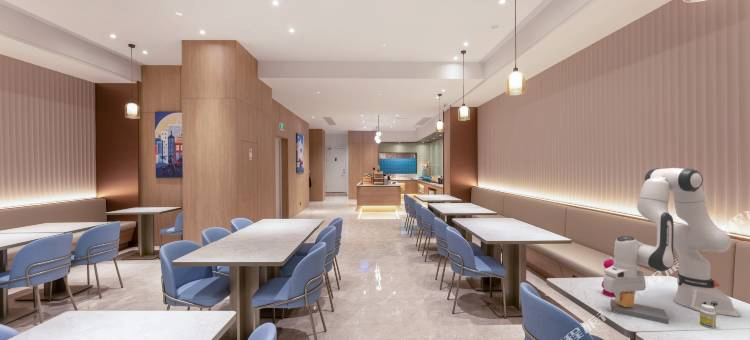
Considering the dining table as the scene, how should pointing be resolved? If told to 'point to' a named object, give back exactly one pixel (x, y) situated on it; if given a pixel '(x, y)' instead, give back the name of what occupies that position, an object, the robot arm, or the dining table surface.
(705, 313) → the supplement bottle
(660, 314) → the plate
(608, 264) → the pepper mill
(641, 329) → the dining table surface
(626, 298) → the tangerine wooden cube
